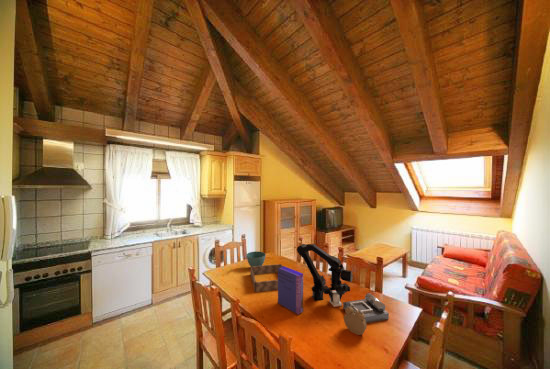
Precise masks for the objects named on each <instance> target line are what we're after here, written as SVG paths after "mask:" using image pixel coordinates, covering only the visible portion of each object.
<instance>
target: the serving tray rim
mask: <svg viewBox="0 0 550 369" xmlns="http://www.w3.org/2000/svg"><path fill="white" fill-rule="evenodd" d="M281 266H283V264H282V263H279V264H278V263H277V264H267V265H266V264H265V265H264V264H263V265H262V266H253V267H251V266H250V273H249V274H250V278H251V282H252V285H253V290H254V293H259V292H269V291H276V290H277V291H278V279H273V280H263V281H257V280H256V278H255V275H256V276H257V275H264V274H265V275H266V274H274V273H276V274H278V268H279V267H281Z"/></svg>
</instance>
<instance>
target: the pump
mask: <svg viewBox="0 0 550 369" xmlns="http://www.w3.org/2000/svg"><path fill="white" fill-rule="evenodd" d="M332 293H333V302H331V299H329V302H328V303H330V304H331V305H332V306H333V307H341V306H342V307H343V303H342V302H341V300H340V295H338V294H337V292H336V290H332Z"/></svg>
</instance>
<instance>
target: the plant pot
mask: <svg viewBox="0 0 550 369" xmlns="http://www.w3.org/2000/svg"><path fill="white" fill-rule="evenodd" d="M266 254H267V253H265V252H263V251H257V250H256V251H250V252H248V253H246V260H247V263H248V265H249V266H250V267H253V266H264V263H265V261H266V256H267V255H266Z"/></svg>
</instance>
